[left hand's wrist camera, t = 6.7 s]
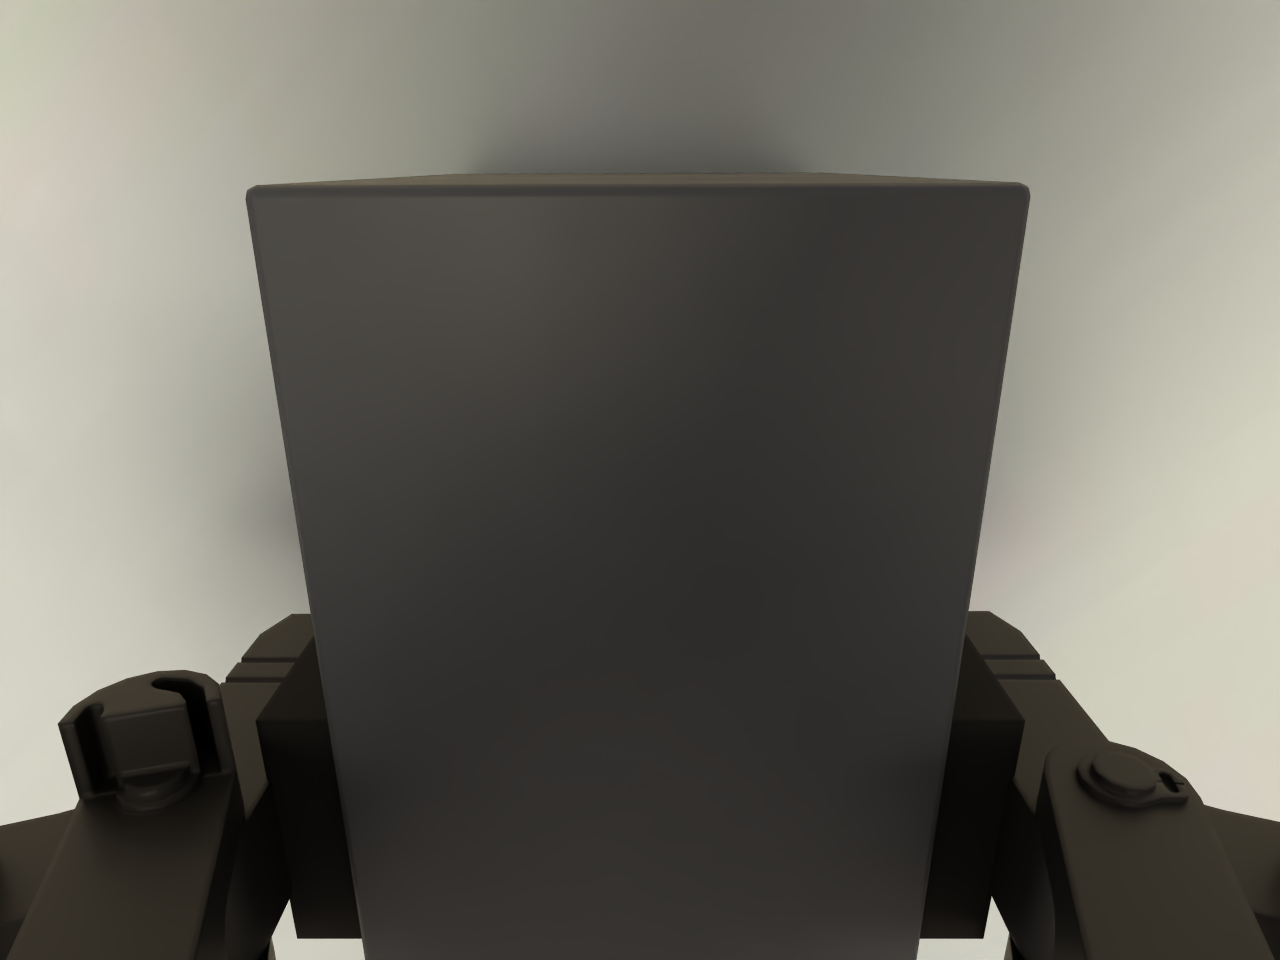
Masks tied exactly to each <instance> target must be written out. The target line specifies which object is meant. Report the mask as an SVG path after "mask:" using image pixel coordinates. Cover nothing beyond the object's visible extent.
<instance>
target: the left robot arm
mask: <svg viewBox="0 0 1280 960" xmlns="http://www.w3.org/2000/svg"><path fill="white" fill-rule="evenodd" d="M58 726H59V730H60V733H61V737H62V740H63V744H64V747H65V750H66V754H67V757H68V761H69V764H70V767H71V771H72V774H73V778H74V781H75V785H76V788H77V791H78V795H79V798H80V799H79V801H78V803H77V806H76V808H75V809H73V810H70V811H66V812H62V813H59V814H54V815H49V816H45V817H40V818H35V819H31V820H26V821H21V822H16V823H12V824H7V825H2V826H0V960H276V958H275V952H274V947H273V942H272V935H273V933H274V930H275V928H276V926H277V924H278V922H279V920H280V918H281V916H282V913H283V911H284V909H285V907H286V905H287V903H288V901H289V899H290V903H291V908H292V914H293V919H294V924H295V929H296V934H297V939H362V935H361V929H360V923H359V916H358V910H357V904H356V897H355V891H354V885H353V878H352V872H351V865H350V859H349V853H348V846H347V840H346V834H345V827H344V821H343V815H342V808H341V802H340V796H339V789H338V783H337V776H336V770H335V764H334V757H333V751H332V745H331V738H330V732H329V726H328V719H327V713H326V707H325V700H324V694H323V687H322V681H321V675H320V668H319V662H318V656H317V649H316V643H315V637H314V630H313V624H312V617H311V614H291V615H290V616H288V617H286V618H285V619H283V620H282V621H280V622H279V623H277V624H276V625H274V626H272V627H271V628H269V629H268V630H266V631H265V632H263V633H262V634H260V635H259V637H258V638H257V639H256V640H255V642H254V643H253V644H252V645H251V647H250V648H249V649H248V650H247V652H246V653H245V654H244V655H243V657H242V661H241V663H237V664H236V665H235V667H234V668H233V669H232V670H231V672H230V673H229V674H228V675H227V677H226V682H225V683H221V684H220V686H219V684H218V683H217V682H216V681H214V680H213V679H212V678H211V677H209V676H208V675H207V674H202V673H197V672H193V671H188V670H175V671H157V672H153V673H148V674H144V675H140V676H135V677H131V678H127V679H125V680H122V681H120V682H117V683H115V684H112V685H110V686H107V687H105V688H103V689H100V690H98V691H96V692H95V693H93V694H92V695H90V696H88V697H87V698H85V699H84V700H82V701H81V702H79V703H78V704H76V705H74V706H73V707H72V708H71V709H70V711H69V712H68V713H67V714H66V715H65V716H64V717H63V718H62V720H61V721H60V722H59V723H58ZM991 896H992V897H993V899H994V901H995V904H996V906H997V908H998V910H999V912H1000V914H1001V916H1002V918H1003V920H1004V922H1005V925H1006V927H1007V929H1008V931H1009V937H1008V942H1007V947H1006V952H1005V956H1004V960H1280V822H1277V821H1272V820H1268V819H1263V818H1258V817H1254V816H1249V815H1244V814H1239V813H1235V812H1230V811H1225V810H1221V809H1217V808H1214V807H1210V806H1207V805H1204V804H1203V802H1202V800H1201V798H1200V796H1199V795H1198V794H1197V792H1196V791H1195V790H1194V788H1193V787H1192V786H1191V784H1190V783H1189V782H1188V780H1187V779H1186V778H1185V777H1183V776H1182V775H1181V774H1179V773H1178V772H1177V771H1175V770H1174V769H1173V768H1171V767H1170V766H1169V765H1167V764H1166V763H1165V762H1163V761H1161V760H1159V759H1157V758H1155V757H1153V756H1151V755H1149V754H1147V753H1144V752H1142V751H1140V750H1138V749H1136V748H1133V747H1129V746H1125V745H1121V744H1118V743H1114V742H1110V741H1108V739H1107V738H1106V737H1105V736H1104V734H1103V733H1102V732H1101V731H1100V729H1099V728H1098V727H1097V726H1096V724H1095V723H1094V722H1093V721H1092V719H1091V718H1090V717H1089V716H1088V715H1087V713H1086V712H1085V711H1084V710H1083V708H1082V707H1081V706H1080V705H1079V703H1078V702H1077V701H1076V700H1075V698H1074V697H1073V696H1072V695H1071V693H1070V692H1069V691H1068V690H1067V688H1066V687H1065V686H1064V685H1063V683H1062V682H1061V681H1060V680H1056V677H1055V673H1054V672H1053V671H1052V670H1051V668H1050V667H1049V666H1048V665H1047V663H1046V662H1045V661H1044V660H1040V655H1039V653H1038V652H1037V651H1036V650H1035V648H1034V647H1033V646H1032V645H1031V644H1030V642H1029V641H1028V640H1027V639H1026V637H1025V636H1024V635H1023V634H1022V632H1021V631H1019V630H1018V629H1016V628H1015V627H1013V626H1011V625H1010V624H1008V623H1007V622H1005V621H1004V620H1002V619H1000V618H999V617H997V616H996V615H994V614H993V613H991V612H990V611H968V617H967V624H966V630H965V637H964V644H963V651H962V657H961V664H960V671H959V677H958V684H957V691H956V697H955V704H954V711H953V718H952V724H951V731H950V738H949V744H948V751H947V758H946V764H945V771H944V778H943V785H942V791H941V798H940V805H939V811H938V818H937V825H936V831H935V838H934V845H933V852H932V858H931V865H930V872H929V878H928V885H927V892H926V899H925V905H924V912H923V919H922V925H921V932H920V939H983V938H984V933H985V927H986V922H987V917H988V912H989V907H990V901H991Z"/></svg>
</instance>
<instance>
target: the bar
mask: <svg viewBox="0 0 1280 960" xmlns="http://www.w3.org/2000/svg"><path fill="white" fill-rule="evenodd" d="M1029 201H1030V192H1029V188H1028V186H1025V185H1023V184H1021V183H1016V182H996V181H976V180H956V179H936V178H916V177H896V176H876V175H855V174H835V173H626V174H450V175H432V176H414V177H396V178H378V179H361V180H343V181H325V182H307V183H289V184H272V185H256V186H254V187H252V188H250V189H248V190H247V194H246V204H247V211H248V217H249V223H250V230H251V236H252V242H253V249H254V255H255V261H256V268H257V274H258V281H259V287H260V293H261V300H262V306H263V312H264V319H265V325H266V331H267V338H268V344H269V350H270V357H271V363H272V370H273V376H274V382H275V389H276V395H277V401H278V408H279V414H280V420H281V427H282V433H283V439H284V446H285V452H286V459H287V465H288V471H289V478H290V484H291V490H292V497H293V503H294V509H295V516H296V522H297V528H298V535H299V541H300V548H301V554H302V560H303V567H304V573H305V579H306V586H307V592H308V598H309V605H310V611H311V617H312V624H313V630H314V637H315V643H316V649H317V656H318V662H319V668H320V675H321V681H322V687H323V694H324V700H325V707H326V713H327V719H328V726H329V732H330V738H331V745H332V751H333V757H334V764H335V770H336V776H337V783H338V789H339V796H340V802H341V808H342V815H343V821H344V827H345V834H346V840H347V846H348V853H349V859H350V865H351V872H352V878H353V885H354V891H355V897H356V904H357V910H358V916H359V923H360V929H361V935H362V942H363V948H364V954H365V960H916V959H917V952H918V945H919V939H920V932H921V925H922V919H923V912H924V905H925V899H926V892H927V885H928V878H929V872H930V865H931V858H932V852H933V845H934V838H935V831H936V825H937V818H938V811H939V805H940V798H941V791H942V785H943V778H944V771H945V764H946V758H947V751H948V744H949V738H950V731H951V724H952V718H953V711H954V704H955V697H956V691H957V684H958V677H959V671H960V664H961V657H962V651H963V644H964V637H965V630H966V624H967V617H968V610H969V604H970V597H971V590H972V583H973V577H974V570H975V563H976V557H977V550H978V543H979V537H980V530H981V523H982V516H983V510H984V503H985V496H986V490H987V483H988V476H989V470H990V463H991V456H992V449H993V443H994V436H995V429H996V423H997V416H998V409H999V403H1000V396H1001V389H1002V382H1003V376H1004V369H1005V362H1006V356H1007V349H1008V342H1009V335H1010V329H1011V322H1012V315H1013V309H1014V302H1015V295H1016V289H1017V282H1018V275H1019V268H1020V262H1021V255H1022V248H1023V242H1024V235H1025V228H1026V222H1027V215H1028V208H1029Z"/></svg>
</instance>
